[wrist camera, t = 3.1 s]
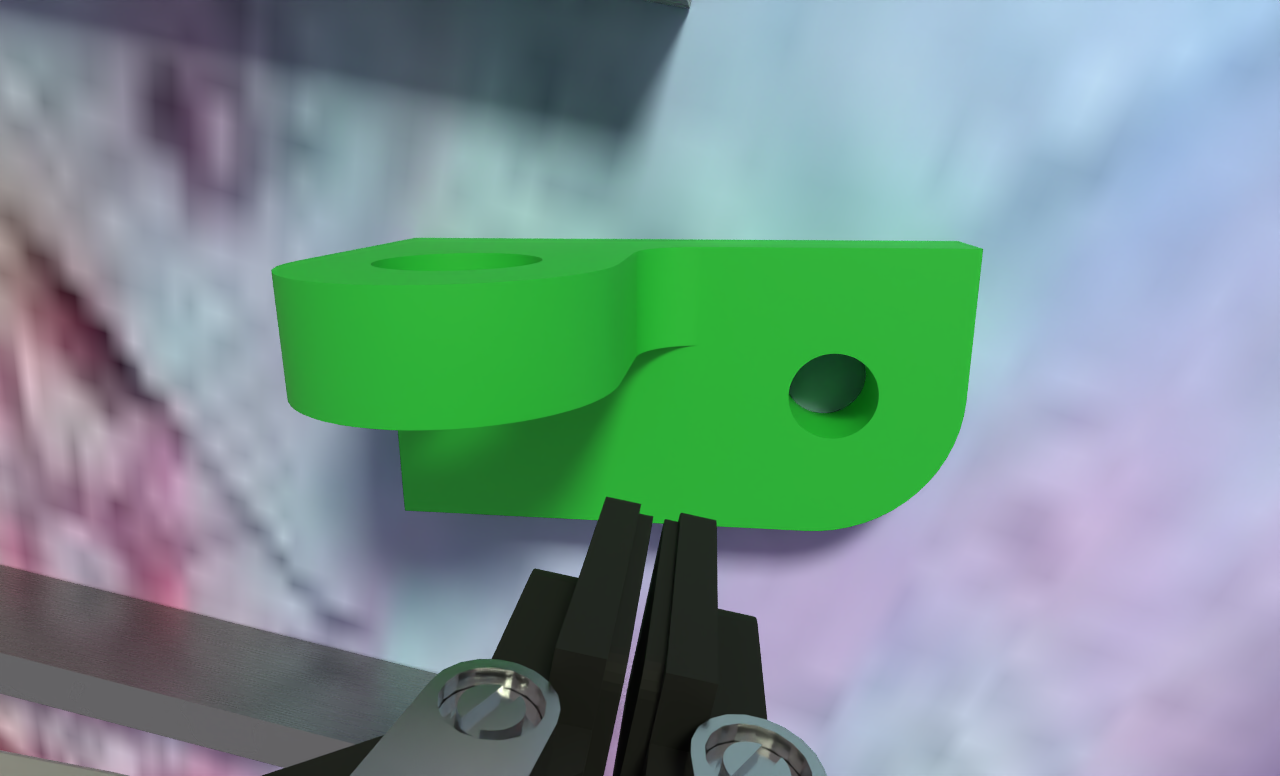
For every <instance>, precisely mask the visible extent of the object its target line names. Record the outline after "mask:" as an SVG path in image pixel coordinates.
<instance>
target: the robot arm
mask: <svg viewBox="0 0 1280 776" xmlns="http://www.w3.org/2000/svg"><path fill="white" fill-rule="evenodd" d="M640 508H641V504H639V503H635V502H630V501H625V500H621V499H616V498H611V497H607V496H606V498H605V501H604V504H603V507H602V510H601V513H600V516H599V519H598V522H597V525H596V528H595V531H594V534H593V537H592V540H591V543H590V546H589V549H588V552H587V555H586V557H585V560H584V563H583V566H582V569H581V572H580V575H579V578H576V577H572V576H567V575H562V574H558V573H553V572H549V571H544V570H540V569H534V570H533V571H532V573H531V575H530V577H529V579H528V581H527V584H526V586H525V588H524V590H523V592H522V594H521V597H520V599H519V601H518V603H517V605H516V607H515V610H514V612H513V614H512V616H511V618H510V620H509V623H508V625H507V627H506V629H505V631H504V633H503V636H502V638H501V640H500V642H499V644H498V646H497V649H496V651H495V653H494V655H493V657H492V659H477V660H471V661H466V662H460V663H458V664H456V665H453V666H451V667H449V668H446V669H444V670H443V671H441V672H440V673H439V674H438V675H437V676H435V677H434V678H433V679H432V680H431V681H430V682H429V683H428V684H427V685H426V686H425V688H424V689H423V690H422V691H421V692H420V694H419V695H418V696H417V697H416V698H415V699H414V701H413V702H412V703H411V704H410V705H409V706H408V708H407V709H406V710H405V711H404V712H403V714H402V715H401V716H400V717H399V718H398V719H397V721H396V722H395V723H394V724H393V725H392V727H391V728H390V729H389V730H388V731H387V732H386V734H385V735H382V736H379V737H376V738H373V739H370V740H367V741H364V742H361V743H358V744H355V745H352V746H349V747H346V748H343V749H340V750H337V751H334V752H331V753H328V754H325V755H322V756H319V757H316V758H313V759H310V760H307V761H304V762H301V763H298V764H295V765H292V766H289V767H286V768H283V769H280V770H277V771H274V772H271V773H268V774H265V775H262V776H603V775H604V771H605V766H606V761H607V757H608V752H609V748H610V743H611V738H612V734H613V729H614V725H615V720H616V715H617V711H618V706H619V701H620V697H621V692H622V688H623V683H624V678H625V673H626V668H627V663H628V658H629V652H630V647H631V641H632V636H633V630H634V624H635V618H636V613H637V607H638V601H639V596H640V590H641V584H642V579H643V573H644V567H645V562H646V556H647V550H648V544H649V539H650V533H651V527H652V522H653V516H649V515H645V514H640ZM0 776H128V775H124V774H119V773H115V772H110V771H105V770H100V769H94V768H89V767H84V766H79V765H74V764H68V763H63V762H58V761H53V760H48V759H42V758H37V757H32V756H27V755H22V754H16V753H11V752H6V751H1V750H0ZM613 776H827V775H826V772H825V769H824V768H823V766H822V764H821V762H820V761H819V759H818V757H817V755H816V754H815V753H814V752H813V751H812V750H811V748H810V747H809V746H808V745H807V744H806V743H805V742H804V741H803V740H802V739H800V738H799V737H797V736H796V735H795V734H793V733H792V732H790V731H789V730H787V729H786V728H784V727H782V726H780V725H777V724H775V723H773V722H771V721H768V720H767V713H766V703H765V693H764V683H763V673H762V663H761V654H760V644H759V634H758V624H757V619H756V617H753V616H749V615H744V614H740V613H735V612H731V611H726V610H722V609H718V594H717V522H716V520H713V519H709V518H704V517H699V516H695V515H690V514H686V513H680V516H679V520H678V522H677V521H672V520H668V519H665V520H664V524H663V528H662V532H661V537H660V542H659V546H658V551H657V555H656V560H655V564H654V569H653V574H652V578H651V583H650V587H649V592H648V596H647V601H646V605H645V610H644V615H643V619H642V624H641V628H640V633H639V637H638V642H637V647H636V651H635V656H634V660H633V665H632V669H631V674H630V679H629V684H628V689H627V694H626V699H625V705H624V711H623V717H622V723H621V729H620V735H619V741H618V747H617V753H616V759H615V765H614V771H613Z"/></svg>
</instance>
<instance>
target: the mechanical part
mask: <svg viewBox="0 0 1280 776" xmlns="http://www.w3.org/2000/svg"><path fill="white" fill-rule="evenodd" d="M982 253H983V249H981V248H978V247H975V246H972V245H969V244H965V243H962V242H959V241H835V240H670V239H506V238H413V239H407V240H402V241H397V242H392V243H387V244H382V245H377V246H371V247H366V248H361V249H356V250H351V251H346V252H340V253H335V254H330V255H325V256H320V257H315V258H309V259H304V260H299V261H294V262H290V263H286V264H282V265H279V266H277V267H275V268H273V269H272V270H271V271H272V279H273V287H274V295H275V303H276V311H277V319H278V327H279V335H280V343H281V351H282V359H283V367H284V375H285V383H286V390H287V398H288V402H289V404H290V405H291V407H293V408H294V409H295V410H296V411H298V412H300V413H302V414H303V415H306V416H309V417H311V418H314V419H317V420H321V421H324V422H329V423H334V424H339V425H345V426H352V427H360V428H369V429H383V430H398V438H399V449H400V460H401V471H402V483H403V494H404V505H405V511H425V512H445V513H464V514H484V515H504V516H524V517H543V518H563V519H583V520H598V519H599V516H600V513H601V510H602V507H603V504H604V501H605V498H606V496H607V497H611V498H616V499H621V500H625V501H630V502H635V503H639V504H641V508H640V514H645V515H649V516H653V522H652V523H661V524H664V520H665V519H668V520H672V521H677V522H678V520H679V516H680V513H686V514H690V515H695V516H699V517H704V518H709V519H713V520H716V522H717V526H721V527H740V528H760V529H780V530H799V531H825V530H836V529H841V528H847V527H851V526H855V525H858V524H862V523H865V522H868V521H870V520H873V519H875V518H878V517H880V516H882V515H884V514H886V513H888V512H890V511H892V510H894V509H895V508H897V507H898V506H900V505H902V504H903V503H905V502H906V501H907V500H909V499H910V498H911V497H913V496H914V495H915V494H916V493H918V492H919V491H920V490H921V489H922V488H923V487H924V486H925V485H926V484H927V483H928V482H929V481H930V480H931V478H932V477H933V476H934V475H935V474H936V473H937V471H938V470H939V469H940V467H941V466H942V464H943V463H944V461H945V460H946V458H947V457H948V455H949V453H950V451H951V449H952V447H953V446H954V443H955V441H956V438H957V436H958V434H959V431H960V428H961V424H962V421H963V417H964V412H965V406H966V400H967V391H968V382H969V372H970V363H971V354H972V345H973V336H974V327H975V317H976V308H977V299H978V290H979V281H980V272H981V262H982ZM827 354H844V355H848V356H851V357H853V358H856V359H858V360H859V361H861V362H862V363H863V364H864V365H865V371H866V377H865V382H864V386H863V388H862V390H861V392H860V394H859V395H858V397H857V398H856V399H855V400H854V401H853V402H852V403H851V404H850V405H848V406H847V407H845V408H843V409H841V410H839V411H836V412H831V413H816V412H812V411H809V410H807V409H804V408H803V407H801V406H800V405H798V404H797V403H796V402H795V401H794V400H793V399H792V398H791V396H790V395H789V389H790V385H791V382H792V380H793V378H794V376H795V375H796V373H797V372H798V371H799V369H800V368H801V367H802V366H803V365H805V364H806V363H807V362H809V361H810V360H812V359H814V358H816V357H819V356H822V355H827Z"/></svg>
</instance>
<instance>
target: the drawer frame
mask: <svg viewBox="0 0 1280 776" xmlns="http://www.w3.org/2000/svg"><path fill="white" fill-rule="evenodd" d="M645 1H650V2H656V3H661V4H667V5H672V6H677V7H683V8H688V9H690V5H691V0H645ZM437 675H438V674H435V673H431V672H427V671H423V670H419V669H415V668H411V667H407V666H403V665H399V664H395V663H391V662H387V661H383V660H379V659H375V658H371V657H367V656H363V655H359V654H355V653H351V652H347V651H343V650H339V649H335V648H331V647H327V646H323V645H319V644H315V643H311V642H307V641H303V640H299V639H295V638H291V637H287V636H283V635H279V634H275V633H271V632H267V631H263V630H259V629H255V628H251V627H247V626H243V625H239V624H235V623H231V622H227V621H223V620H219V619H215V618H211V617H207V616H203V615H199V614H195V613H191V612H187V611H183V610H179V609H175V608H171V607H167V606H163V605H159V604H155V603H151V602H147V601H143V600H139V599H135V598H131V597H126V596H122V595H118V594H114V593H110V592H106V591H102V590H98V589H94V588H90V587H86V586H82V585H78V584H74V583H70V582H66V581H62V580H58V579H54V578H50V577H46V576H42V575H38V574H34V573H30V572H26V571H22V570H18V569H14V568H10V567H6V566H2V565H0V693H1V694H5V695H9V696H12V697H16V698H20V699H24V700H28V701H31V702H35V703H39V704H43V705H47V706H51V707H54V708H58V709H62V710H66V711H70V712H74V713H77V714H81V715H85V716H89V717H93V718H96V719H100V720H104V721H108V722H112V723H116V724H119V725H123V726H127V727H131V728H135V729H138V730H142V731H146V732H150V733H154V734H158V735H161V736H165V737H169V738H173V739H177V740H181V741H184V742H188V743H192V744H196V745H200V746H203V747H207V748H211V749H215V750H219V751H223V752H226V753H230V754H234V755H238V756H242V757H245V758H249V759H253V760H257V761H261V762H265V763H268V764H272V765H276V766H280V767H284V768H286V767H289V766H292V765H295V764H298V763H301V762H304V761H307V760H310V759H313V758H316V757H319V756H322V755H325V754H328V753H331V752H334V751H337V750H340V749H343V748H346V747H349V746H352V745H355V744H358V743H361V742H364V741H367V740H370V739H373V738H376V737H379V736H382V735H385V734H386V732H387V731H388V730H389V729H390V728H391V727H392V725H393V724H394V723H395V722H396V721H397V719H398V718H399V717H400V716H401V715H402V714H403V712H404V711H405V710H406V709H407V708H408V706H409V705H410V704H411V703H412V702H413V701H414V699H415V698H416V697H417V696H418V695H419V694H420V692H421V691H422V690H423V689H424V688H425V686H426V685H427V684H428V683H429V682H430V681H431V680H432V679H433V678H434V677H435V676H437Z"/></svg>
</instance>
